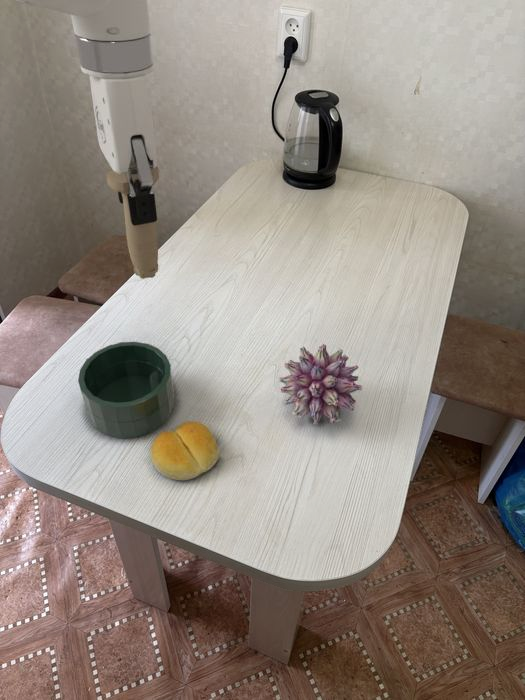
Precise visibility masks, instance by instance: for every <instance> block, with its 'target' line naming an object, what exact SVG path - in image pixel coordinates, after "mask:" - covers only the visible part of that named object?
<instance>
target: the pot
mask: <svg viewBox="0 0 525 700" xmlns="http://www.w3.org/2000/svg"><path fill="white" fill-rule="evenodd" d="M171 365H172V364H171V362H170V360H169V358H168V356H167V355H166V354H165V353H164V352H163V351H162V350H161V349H160V348H158V347H156V346H154V345H152V344H150V343H146V342H141V341H140V342H139V341H123V342H122V341H121V342H118V343H114V344H110V345H106V346H105V347H103V348H101V349H99V350H97V351H95V352H93V354H91V355H90V356H89V357H87V358H86V360H85V361H84V363H83V365H82V366H81V368H80V369H79V373H78V379H77V382H78V385H79V389H80V393H81V395H82V399H83V402H84V404H85V407H86V412H87V414H88V418H89V421H90V423H91V424H92V426H93V427H94V428H95V429H96V430H97V431H99V432H100V433H102V434H103V435H105V436H108V437H111V438H115V439H135V438H140V437H143V436H146V435H149V434H150V433H153V432H155V431H156V430H158V429H159V428H161V427H162V426H163V425H164V424H165V423H166V422H167V421H168V420H169V418H170V417H171V415H172V413H173V411H174V408H175V390H174V389H175V388H174V381H173V373H172V366H171Z"/></svg>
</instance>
